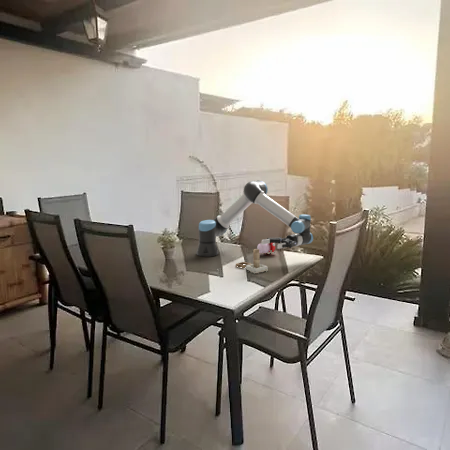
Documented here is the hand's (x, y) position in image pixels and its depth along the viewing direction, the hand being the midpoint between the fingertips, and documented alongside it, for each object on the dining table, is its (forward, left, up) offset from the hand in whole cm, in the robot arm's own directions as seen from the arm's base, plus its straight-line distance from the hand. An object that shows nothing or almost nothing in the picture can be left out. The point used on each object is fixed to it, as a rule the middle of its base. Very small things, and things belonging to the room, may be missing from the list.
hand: (269, 244), depth 235 cm
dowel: (0, -11, -14) cm, 17 cm away
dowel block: (-11, -11, -14) cm, 21 cm away
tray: (0, -11, -14) cm, 18 cm away
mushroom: (-26, +17, -9) cm, 32 cm away
